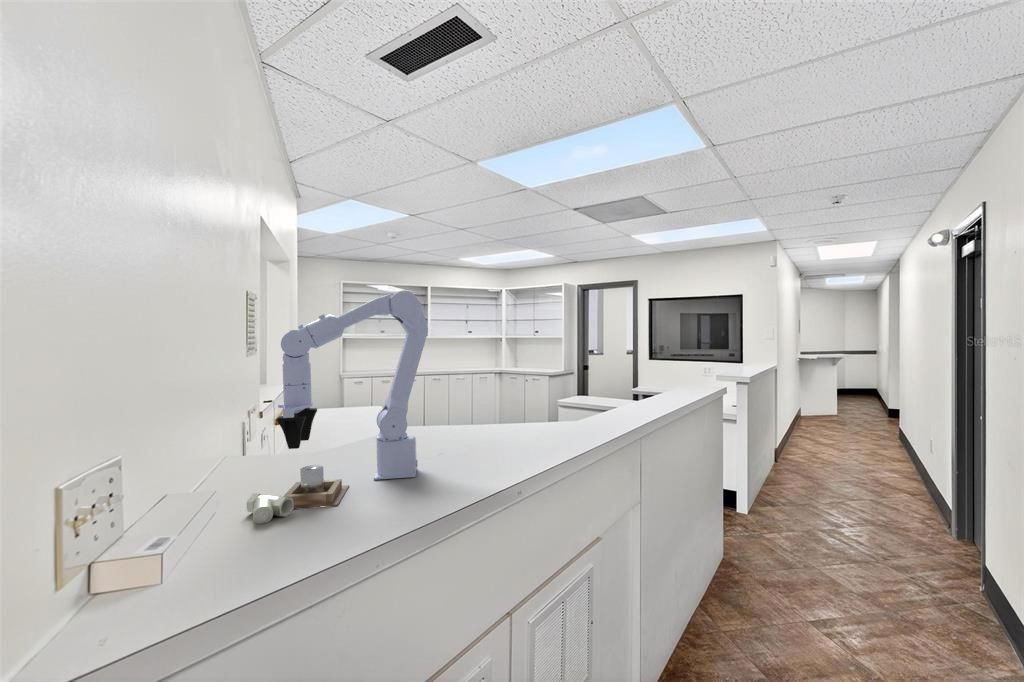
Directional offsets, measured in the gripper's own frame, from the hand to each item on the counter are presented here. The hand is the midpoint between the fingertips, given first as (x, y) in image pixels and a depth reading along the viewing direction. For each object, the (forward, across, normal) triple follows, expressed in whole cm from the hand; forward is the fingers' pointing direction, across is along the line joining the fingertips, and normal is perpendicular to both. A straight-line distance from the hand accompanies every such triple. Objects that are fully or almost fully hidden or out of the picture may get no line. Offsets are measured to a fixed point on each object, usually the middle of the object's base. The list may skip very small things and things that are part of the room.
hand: (299, 444), depth 106 cm
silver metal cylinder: (+9, +9, +5) cm, 14 cm away
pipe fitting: (+10, +18, -2) cm, 20 cm away
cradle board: (+10, +9, +5) cm, 14 cm away
